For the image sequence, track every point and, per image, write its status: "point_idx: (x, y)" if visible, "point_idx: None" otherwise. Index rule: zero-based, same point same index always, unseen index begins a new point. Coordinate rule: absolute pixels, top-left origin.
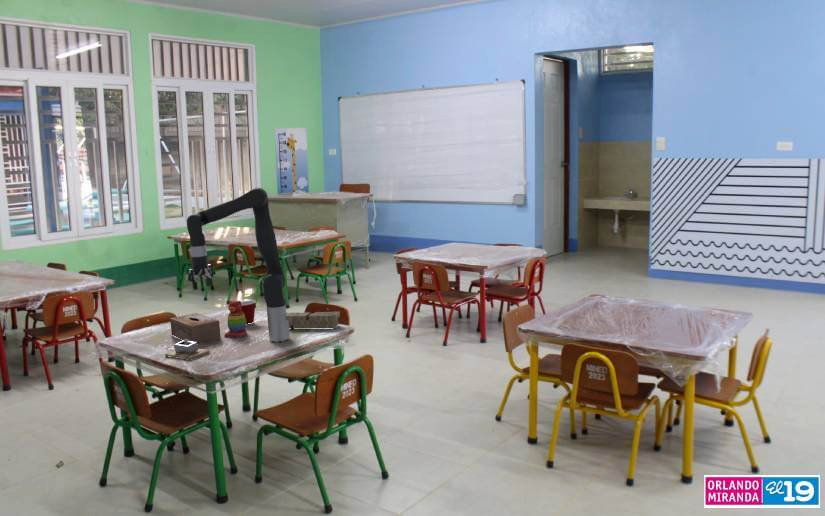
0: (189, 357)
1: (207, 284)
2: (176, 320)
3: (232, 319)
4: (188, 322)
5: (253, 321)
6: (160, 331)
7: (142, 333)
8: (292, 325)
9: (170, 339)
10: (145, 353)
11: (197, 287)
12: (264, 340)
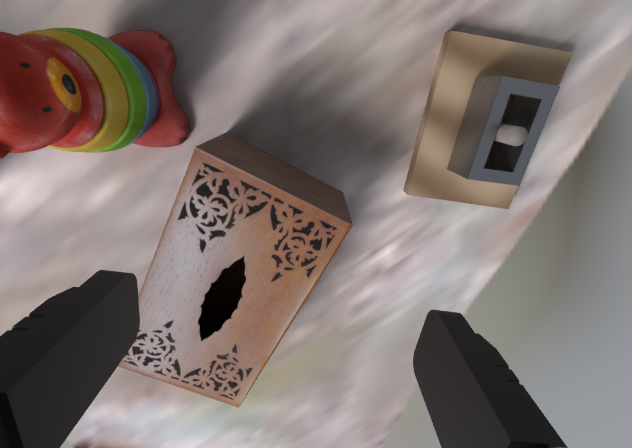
0: (570, 55)
1: (120, 331)
2: (264, 363)
3: (121, 87)
4: (283, 290)
5: None
6: (212, 411)
7: (250, 440)
8: None
9: None
10: (458, 301)
11: (448, 329)
12: None
